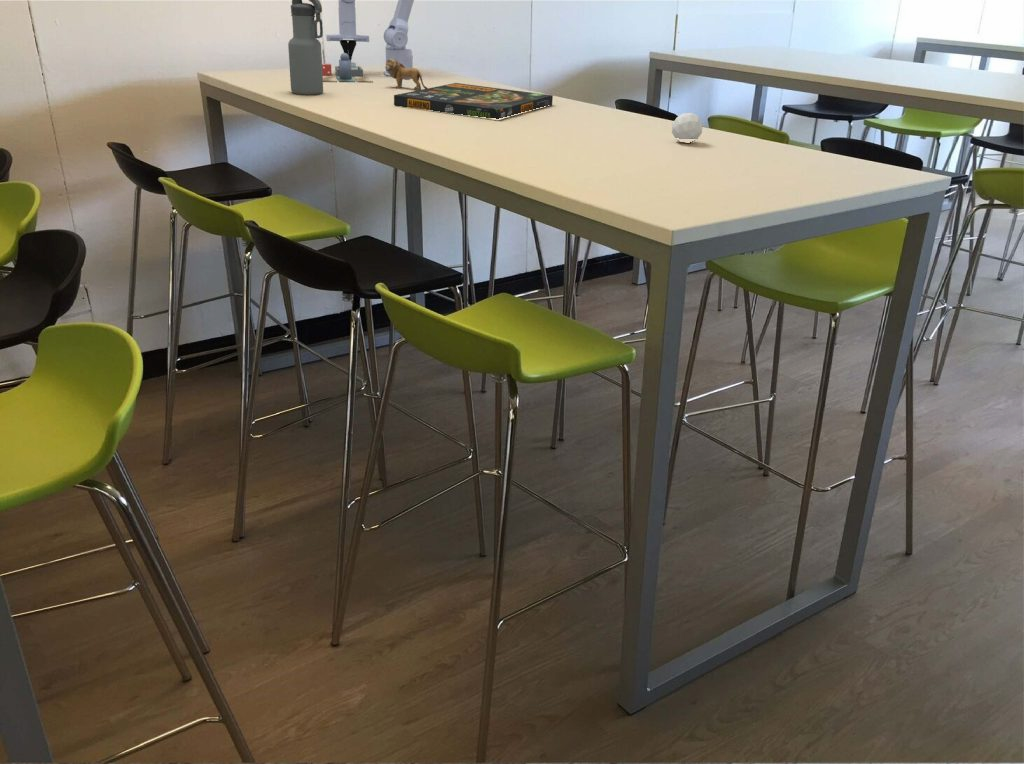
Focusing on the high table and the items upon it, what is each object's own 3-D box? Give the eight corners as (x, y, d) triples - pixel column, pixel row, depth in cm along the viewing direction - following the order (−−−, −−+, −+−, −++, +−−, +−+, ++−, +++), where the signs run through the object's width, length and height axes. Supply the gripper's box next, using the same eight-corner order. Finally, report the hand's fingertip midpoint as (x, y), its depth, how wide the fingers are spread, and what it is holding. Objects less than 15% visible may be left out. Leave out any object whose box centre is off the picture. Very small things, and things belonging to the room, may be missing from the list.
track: (368, 78, 308) (368, 76, 308) (372, 82, 300) (372, 81, 300) (318, 77, 304) (318, 76, 304) (321, 81, 295) (321, 80, 295)
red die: (330, 74, 313) (330, 63, 311) (331, 75, 310) (331, 64, 308) (320, 73, 312) (320, 63, 310) (321, 75, 309) (320, 64, 307)
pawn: (350, 77, 304) (349, 52, 300) (352, 79, 300) (351, 53, 297) (339, 77, 303) (338, 52, 299) (340, 79, 299) (339, 53, 296)
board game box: (394, 107, 261) (393, 95, 260) (455, 94, 289) (455, 82, 288) (498, 122, 247) (498, 109, 245) (552, 107, 275) (552, 95, 274)
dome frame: (360, 73, 317) (360, 66, 316) (363, 77, 310) (363, 69, 309) (335, 73, 315) (335, 66, 314) (337, 76, 308) (337, 69, 307)
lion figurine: (383, 88, 290) (382, 59, 286) (389, 85, 295) (388, 57, 291) (425, 91, 287) (425, 62, 283) (430, 89, 292) (431, 60, 288)
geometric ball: (683, 155, 230) (675, 132, 224) (671, 138, 236) (664, 115, 230) (709, 141, 229) (703, 117, 223) (698, 124, 234) (691, 101, 228)
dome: (357, 73, 316) (356, 62, 314) (359, 75, 311) (359, 64, 309) (339, 73, 314) (338, 61, 313) (340, 75, 309) (340, 64, 307)
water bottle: (328, 91, 278) (324, -6, 266) (319, 96, 269) (314, -4, 257) (296, 89, 279) (291, -8, 266) (286, 94, 270) (280, -6, 258)
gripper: (327, 22, 299) (328, 64, 305) (370, 23, 303) (370, 65, 309) (325, 20, 305) (326, 61, 311) (367, 21, 309) (368, 62, 315)
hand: (348, 63), depth 311 cm, fingers closed, pressing on dome
